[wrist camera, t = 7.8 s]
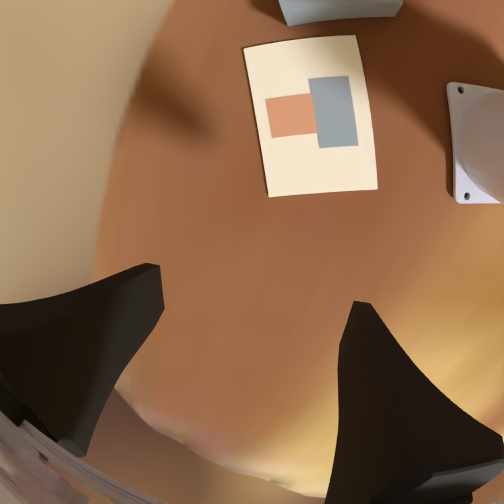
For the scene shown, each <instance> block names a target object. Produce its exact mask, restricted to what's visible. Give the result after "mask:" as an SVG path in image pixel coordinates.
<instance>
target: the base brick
mask: <svg viewBox="0 0 504 504" xmlns="http://www.w3.org/2000/svg"><path fill="white" fill-rule="evenodd" d="M279 3H280V6H281V9H282V12H283V15H284V17H285V20H286V22H287V25H288V26H294V25H299V24H305V23H312V22H319V21H327V20H337V19H348V18H364V17H395V15H396V14H397V12H398V11H399V9H400V8H401V6H402V5H403V4H404V3H403V0H279Z"/></svg>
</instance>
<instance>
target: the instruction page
mask: <svg viewBox="0 0 504 504" xmlns="http://www.w3.org/2000/svg"><path fill="white" fill-rule="evenodd" d="M244 54H245V60H246V65H247V70H248V76H249V81H250V87H251V92H252V98H253V103H254V109H255V115H256V120H257V126H258V132H259V138H260V144H261V150H262V156H263V162H264V168H265V175H266V181H267V187H268V194H269V197H275V196H286V195H297V194H309V193H322V192H337V191H353V190H372V189H377V173H376V160H375V149H374V139H373V130H372V122H371V115H370V108H369V101H368V95H367V89H366V83H365V78H364V72H363V67H362V62H361V58H360V53H359V49H358V44H357V40H356V36H355V35H346V36H328V37H316V38H306V39H297V40H290V41H283V42H276V43H270V44H264V45H259V46H254V47H249V48H244Z"/></svg>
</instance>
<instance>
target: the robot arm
mask: <svg viewBox="0 0 504 504" xmlns="http://www.w3.org/2000/svg"><path fill="white" fill-rule="evenodd" d="M458 87H460V88H461V90H462V93H461V94H460V93H459V92H458ZM446 91H447V97H448V104H449V112H450V121H451V132H452V147H453V197H454V200H455V201H456V202H458V203H502V204H504V91H503V90H499V89H494V88H489V87H483V86H478V85H471V84H465V83H457V82H450V83H448V84H447V86H446ZM465 193H468V196H467V198H464V194H465ZM164 309H165V308H164V300H163V291H162V282H161V272H160V265H155V264H150V263H144V264H141V265H138V266H135V267H132V268H130V269H127V270H124V271H122V272H120V273H117V274H115V275H112V276H110V277H107V278H105V279H102V280H100V281H97V282H95V283H92V284H89V285H87V286H84V287H81V288H79V289H76V290H73V291H70V292H67V293H63V294H60V295H56V296H52V297H48V298H43V299H38V300H33V301H28V302H21V303H13V304H0V504H88V502H89V500H90V497H89V496H87V495H86V494H85V493H83V492H81V491H80V490H79V489H77V488H76V487H74V486H73V485H72V484H70V483H69V482H67V481H66V480H65V479H64V478H62V477H61V476H60V475H58V474H57V473H56V472H54V471H53V470H52V469H51V468H49V462H48V460H49V461H50V462H51V463H53V464H54V465H56V466H57V467H58V468H60V469H61V470H62V471H64V472H65V473H67V474H68V475H70V476H71V477H73V478H74V479H76V480H77V481H79V482H80V483H82V484H83V485H85V486H87V487H88V488H90V489H91V490H93V491H95V492H97V493H98V494H100V495H102V496H104V497H105V498H107V499H109V500H111V501H113V502H114V503H116V504H168V503H165V502H163V501H160V500H157V499H155V498H153V497H150V496H148V495H146V494H144V493H141V492H139V491H137V490H135V489H132V488H131V487H128V486H126V485H124V484H122V483H120V482H118V481H116V480H115V479H113V478H111V477H109V476H107V475H105V474H103V473H102V472H100V471H98V470H96V469H95V468H93V467H91V466H89V465H88V464H86V463H84V462H83V461H81V460H80V459H78V458H77V457H84V456H86V453H87V450H88V447H89V444H90V441H91V438H92V435H93V432H94V429H95V426H96V424H97V421H98V419H99V416H100V414H101V412H102V409H103V407H104V405H105V403H106V401H107V399H108V397H109V395H110V393H111V391H112V389H113V387H114V385H115V384H116V382H117V380H118V378H119V376H120V375H121V373H122V372H123V370H124V369H125V367H126V366H127V364H128V363H129V362H130V360H131V359H132V358H133V356H134V355H135V353H136V352H137V351H138V349H139V348H140V347H141V345H142V344H143V343H144V341H145V340H146V339H147V337H148V336H149V335H150V333H151V332H152V330H153V329H154V327H155V326H156V324H157V322H158V320H159V318H160V316H161V314H162V313H163V311H164ZM338 404H339V423H338V435H337V443H336V450H335V456H334V462H333V468H332V473H331V478H330V483H329V487H328V491H327V495H326V499H325V503H324V504H470V503H472V501H473V497H472V492H474V491H475V490H477V489H478V488H480V487H481V486H483V485H484V484H486V483H487V482H489V481H490V480H492V479H493V478H494V477H496V476H497V475H498V474H499V473H500V472H501V471H502V470H503V469H504V442H503V438H502V436H501V435H500V434H498V433H496V432H495V431H493V430H491V429H490V428H488V427H486V426H485V425H483V424H481V423H480V422H478V421H477V420H475V419H474V418H473V417H471V416H470V415H469V414H467V413H466V412H465V411H463V410H462V409H461V408H459V407H458V406H457V405H456V404H454V403H453V402H452V401H451V400H450V399H449V398H448V397H446V396H445V395H444V394H443V393H442V392H441V391H440V390H439V389H438V388H437V387H436V386H435V385H434V384H433V383H432V382H431V381H430V380H429V379H428V378H427V377H426V376H425V375H424V374H423V373H422V372H421V371H420V370H419V368H418V367H417V366H416V365H415V364H414V363H413V361H412V360H411V359H410V358H409V356H408V355H407V354H406V353H405V351H404V350H403V349H402V347H401V346H400V345H399V343H398V342H397V341H396V339H395V338H394V337H393V335H392V334H391V332H390V331H389V329H388V328H387V327H386V325H385V324H384V322H383V321H382V319H381V318H380V316H379V315H378V313H377V312H376V311H375V309H374V308H373V306H372V305H371V304H370V303H365V302H359V301H353V305H352V308H351V311H350V314H349V317H348V320H347V324H346V327H345V330H344V332H343V335H342V338H341V341H340V344H339V356H338ZM49 438H50V439H49ZM52 440H53V441H54V442H53V441H52ZM56 443H57V444H56ZM59 445H60V446H61V447H60V446H59ZM63 448H64V449H63ZM66 450H67V451H66ZM69 452H70V453H69ZM72 454H73V455H72ZM75 456H76V457H75ZM491 504H503V500H499V501H496V502H494V503H491Z"/></svg>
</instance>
